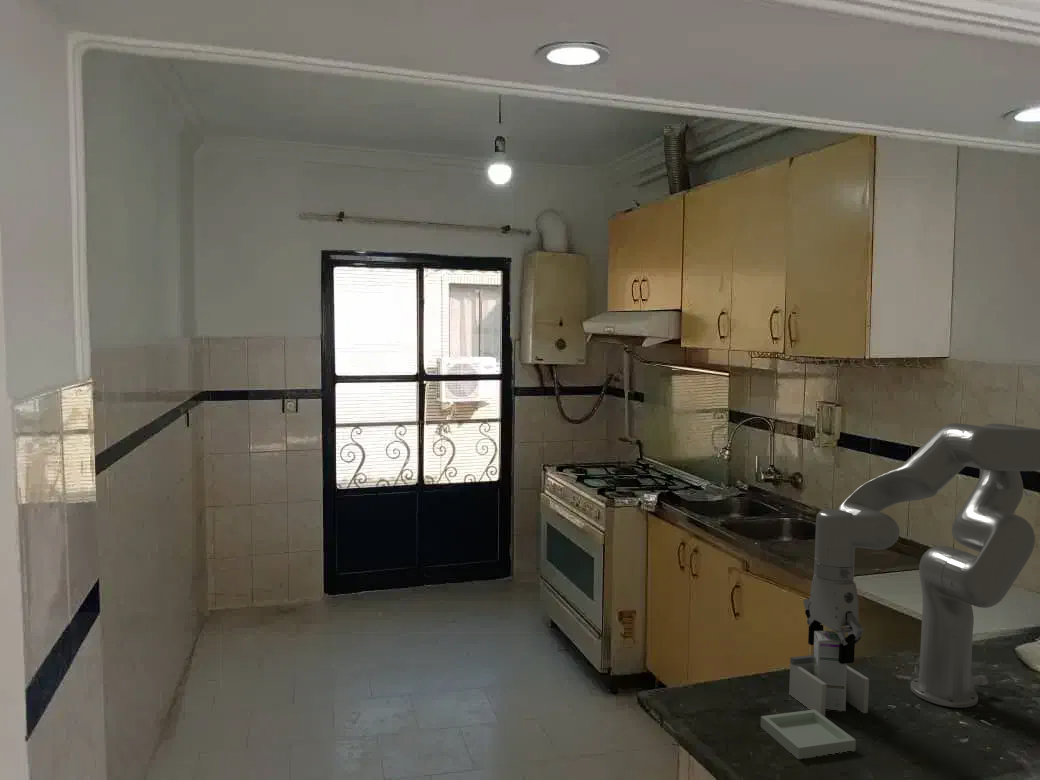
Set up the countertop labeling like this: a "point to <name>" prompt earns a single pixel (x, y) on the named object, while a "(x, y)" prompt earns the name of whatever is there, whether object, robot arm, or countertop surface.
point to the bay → (824, 686)
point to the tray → (807, 734)
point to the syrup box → (830, 668)
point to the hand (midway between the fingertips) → (830, 653)
